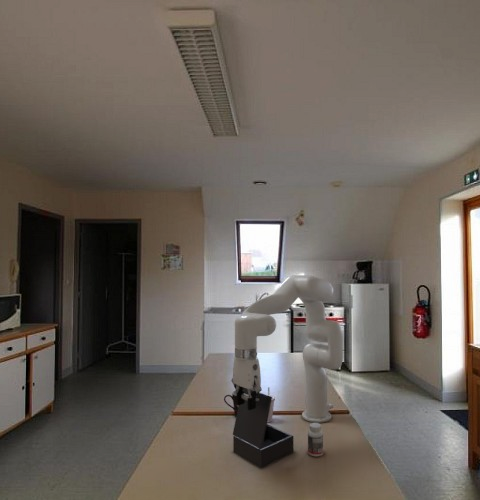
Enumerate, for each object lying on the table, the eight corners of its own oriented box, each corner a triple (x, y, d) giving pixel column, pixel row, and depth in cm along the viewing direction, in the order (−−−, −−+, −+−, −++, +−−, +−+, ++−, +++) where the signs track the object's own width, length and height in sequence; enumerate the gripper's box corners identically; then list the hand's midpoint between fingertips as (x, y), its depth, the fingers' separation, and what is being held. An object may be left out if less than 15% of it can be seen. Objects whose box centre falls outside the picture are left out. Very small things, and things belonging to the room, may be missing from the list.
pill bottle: (306, 449, 137) (306, 422, 137) (321, 449, 137) (320, 421, 137) (309, 457, 131) (309, 428, 132) (324, 456, 132) (324, 427, 132)
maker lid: (244, 386, 139) (234, 385, 136) (272, 396, 128) (261, 396, 125) (234, 434, 135) (223, 434, 132) (261, 449, 125) (250, 449, 121)
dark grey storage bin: (265, 438, 145) (265, 423, 146) (293, 452, 135) (293, 435, 135) (233, 452, 135) (233, 435, 135) (261, 468, 124) (261, 450, 124)
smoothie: (273, 424, 159) (273, 390, 159) (258, 423, 160) (258, 389, 160) (276, 418, 165) (276, 385, 165) (261, 417, 166) (261, 384, 167)
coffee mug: (255, 414, 169) (255, 391, 169) (244, 421, 162) (244, 397, 162) (234, 409, 175) (234, 387, 176) (222, 415, 168) (222, 392, 168)
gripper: (270, 355, 127) (271, 410, 126) (238, 347, 139) (238, 397, 139) (254, 359, 122) (254, 417, 121) (222, 350, 134) (222, 402, 134)
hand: (246, 406), depth 130 cm, fingers closed on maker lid, 5 cm apart
